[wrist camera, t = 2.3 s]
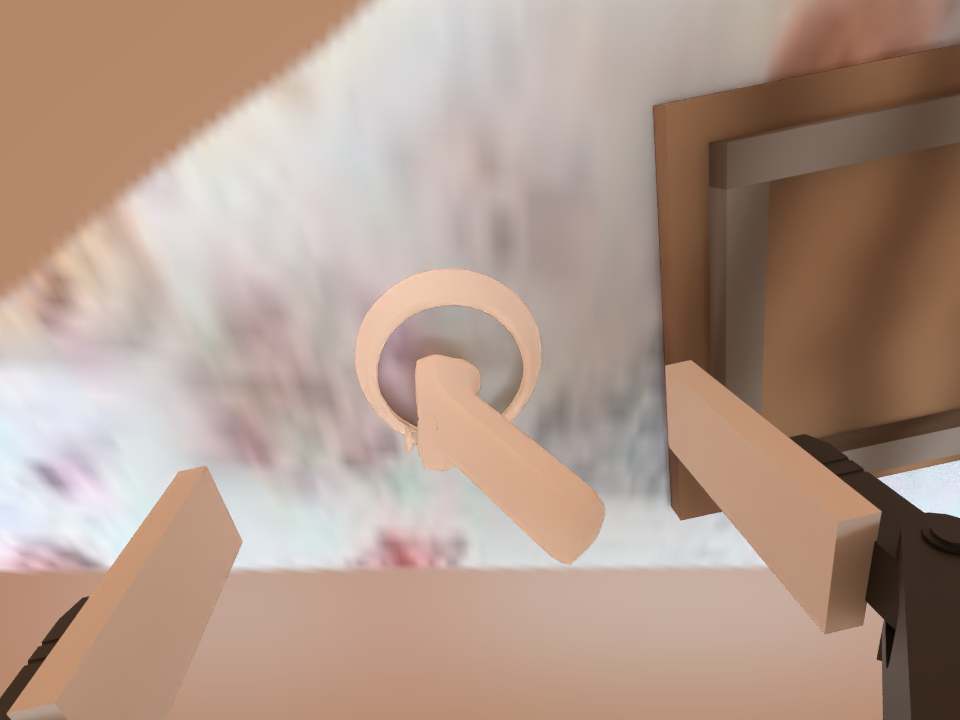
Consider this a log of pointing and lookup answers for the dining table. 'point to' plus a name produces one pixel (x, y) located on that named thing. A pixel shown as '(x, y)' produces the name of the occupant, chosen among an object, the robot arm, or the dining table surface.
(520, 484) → the hook
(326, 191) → the dining table surface
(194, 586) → the robot arm
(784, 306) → the picture frame
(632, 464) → the dining table surface
